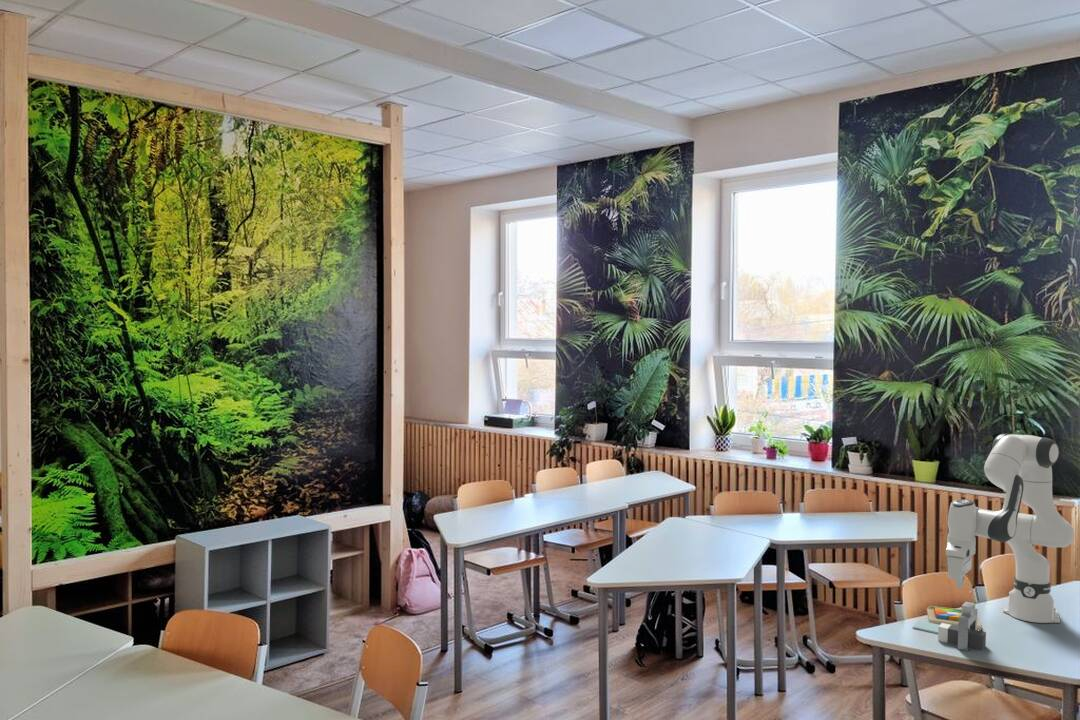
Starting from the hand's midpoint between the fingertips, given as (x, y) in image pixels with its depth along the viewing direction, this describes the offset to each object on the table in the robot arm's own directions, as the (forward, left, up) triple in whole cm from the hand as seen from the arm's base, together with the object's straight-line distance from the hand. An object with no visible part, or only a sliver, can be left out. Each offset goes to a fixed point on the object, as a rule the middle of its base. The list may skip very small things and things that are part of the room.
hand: (959, 587), depth 293 cm
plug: (0, +1, -20) cm, 20 cm away
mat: (-9, -7, -20) cm, 23 cm away
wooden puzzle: (-25, -7, -20) cm, 33 cm away
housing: (0, +3, -20) cm, 20 cm away
